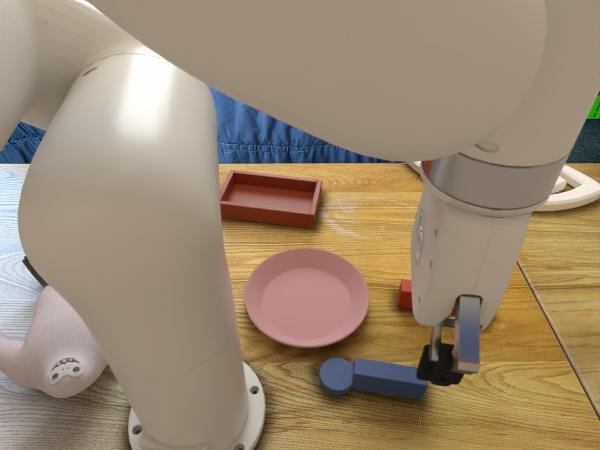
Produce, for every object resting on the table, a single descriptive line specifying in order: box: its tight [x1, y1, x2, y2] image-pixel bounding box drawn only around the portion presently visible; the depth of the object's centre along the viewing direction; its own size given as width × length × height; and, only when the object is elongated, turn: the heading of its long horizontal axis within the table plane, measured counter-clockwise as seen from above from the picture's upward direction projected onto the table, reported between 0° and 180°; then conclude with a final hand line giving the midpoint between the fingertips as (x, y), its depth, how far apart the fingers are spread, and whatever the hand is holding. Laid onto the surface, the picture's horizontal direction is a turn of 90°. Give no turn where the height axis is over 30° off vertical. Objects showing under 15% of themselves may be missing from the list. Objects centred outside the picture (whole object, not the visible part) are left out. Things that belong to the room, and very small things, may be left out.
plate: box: [243, 247, 370, 349], centre depth 52 cm, size 14×14×2 cm
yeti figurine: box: [0, 255, 109, 399], centre depth 47 cm, size 20×7×20 cm
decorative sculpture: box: [405, 161, 600, 212], centre depth 70 cm, size 15×29×2 cm, turn 82°
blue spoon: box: [318, 356, 429, 401], centre depth 44 cm, size 10×4×3 cm, turn 80°
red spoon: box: [396, 278, 455, 316], centre depth 51 cm, size 10×4×3 cm, turn 80°
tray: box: [220, 169, 323, 230], centre depth 64 cm, size 14×8×3 cm, turn 80°
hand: (433, 325), depth 38 cm, fingers open, 9 cm apart
